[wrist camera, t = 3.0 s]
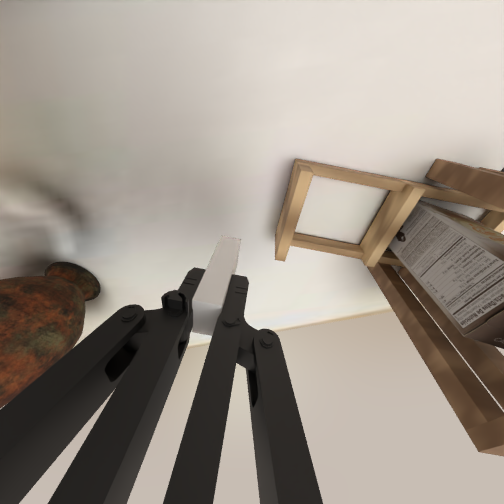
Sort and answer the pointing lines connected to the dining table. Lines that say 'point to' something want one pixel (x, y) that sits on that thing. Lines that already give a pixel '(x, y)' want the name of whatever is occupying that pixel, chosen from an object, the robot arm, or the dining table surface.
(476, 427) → the brown open upright frame
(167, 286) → the dining table surface
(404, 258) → the coffee box
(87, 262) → the dining table surface
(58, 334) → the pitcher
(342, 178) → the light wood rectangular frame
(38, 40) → the dining table surface
